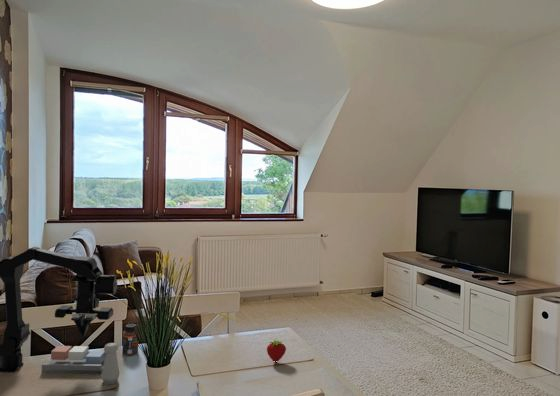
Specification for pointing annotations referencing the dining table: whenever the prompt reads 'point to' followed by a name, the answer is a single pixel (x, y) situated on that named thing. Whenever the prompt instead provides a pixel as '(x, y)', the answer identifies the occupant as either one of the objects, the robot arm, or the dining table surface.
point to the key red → (60, 352)
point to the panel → (72, 367)
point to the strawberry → (276, 350)
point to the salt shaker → (110, 364)
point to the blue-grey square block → (95, 357)
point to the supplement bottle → (129, 341)
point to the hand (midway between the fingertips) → (83, 335)
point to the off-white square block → (78, 353)
